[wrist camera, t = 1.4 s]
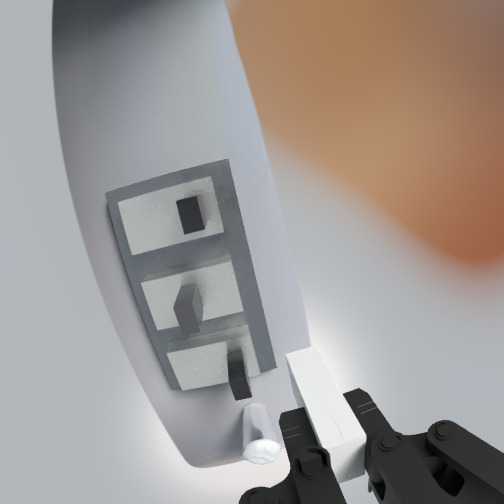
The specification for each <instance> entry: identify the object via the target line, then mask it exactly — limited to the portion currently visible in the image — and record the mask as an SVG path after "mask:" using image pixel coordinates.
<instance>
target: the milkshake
mask: <svg viewBox="0 0 504 504" xmlns="http://www.w3.org/2000/svg"><path fill="white" fill-rule="evenodd" d="M280 452H281V446H280V444H279V441H278V439H277V436H276V434H275V432H274V429H273V426H272V423H271V420H270V417H269V415H268V412H267V409H266V407H265V406H264V404H261V403H258V402H255V403H249V404H248V405H246V406H245V407H244V410H243V453H242V455H243V456H244V458H245V459H246V460H248V461H249V462H252V463H255V464H267V463H271V462H273V461H274V460H275V459H276V458H277V457H278V456H279V455H280ZM242 455H241V456H240V458H241V457H242Z"/></svg>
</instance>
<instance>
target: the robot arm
mask: <svg viewBox="0 0 504 504" xmlns="http://www.w3.org/2000/svg"><path fill="white" fill-rule="evenodd" d="M285 355H286V359H287V364H288V369H289V374H290V378H291V383H292V388H293V393H294V396H295V399H296V401H297V404H298V407H299V408H298V409H294V410H291V411H287V412H283V413H281V416H280V419H279V425H280V429H281V432H282V436H283V440H284V443H285V447H286V450H287V454H288V458H289V462H290V468H291V469H290V473H289V474H288V476H287V477H286V478H285V480H283V481H282V482H280V483H279V484H277V485H275V486H273V487H271V488H268V487H255V488H252V489H250V490H248V491H246V492H245V493H244V494H243V495H242V496H241V498H240V500H239V504H347V503H346V501H345V499H344V496H343V494H342V491H341V489H340V486H339V483H342V482H345V481H348V480H351V479H353V478H356V477H359V476H362V475H364V474H365V469H366V471H367V473H368V475H369V483H368V491H369V492H371V491H372V490H373V492H374V494H375V496H376V498H377V500H378V502H379V504H504V453H502V452H501V451H499V450H497V449H496V448H494V447H493V446H491V445H489V444H488V443H486V442H484V441H483V440H481V439H479V438H478V437H477V436H475V435H473V434H472V433H470V432H469V431H467V430H466V429H464V428H462V427H461V426H459V425H458V424H456V423H454V422H452V421H449V420H442V421H438V422H436V423H434V424H432V425H431V426H430V428H429V429H428V432H425V433H420V434H416V435H402V434H401V433H399V432H396V431H394V430H393V429H392V427H391V426H390V424H389V423H388V422H387V420H386V419H385V417H384V416H383V414H382V413H381V411H380V410H379V409H378V408H377V406H376V404H375V403H374V402H373V400H372V398H371V397H370V396H369V394H368V393H367V392H365V391H363V390H361V389H360V388H358V389H355V390H353V391H350V392H347V393H344V394H342V392H341V391H340V389H339V387H338V386H337V384H336V382H335V381H334V379H333V377H332V375H331V374H330V372H329V370H328V369H327V367H326V365H325V363H324V362H323V360H322V358H321V357H320V355H319V353H318V352H317V350H316V348H315V347H314V346H312V347H309V348H305V349H302V350H298V351H295V352H291V353H287V354H285Z"/></svg>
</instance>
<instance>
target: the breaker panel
mask: <svg viewBox="0 0 504 504" xmlns="http://www.w3.org/2000/svg"><path fill="white" fill-rule="evenodd" d="M105 195H106V199H107V203H108V207H109V211H110V215H111V219H112V223H113V226H114V230H115V234H116V237H117V241H118V244H119V248H120V251H121V254H122V258H123V261H124V264H125V267H126V271H127V274H128V277H129V280H130V283H131V286H132V289H133V292H134V295H135V298H136V300H137V303H138V306H139V309H140V312H141V314H142V317H143V320H144V322H145V325H146V328H147V330H148V333H149V335H150V338H151V340H152V343H153V345H154V348H155V350H156V353H157V355H158V358H159V360H160V362H161V365H162V367H163V369H164V372H165V374H166V376H167V378H168V381H169V383H170V385H171V387H172V389H179V388H181V389H182V391H183V390H189V389H195V388H200V387H206V386H211V385H216V384H221V383H226V382H229V383H230V386H231V389H232V392H233V395H234V397H235V400H236V401H237V400H242V399H246V398H251V397H252V392H251V387H250V381H249V377H253V376H257V375H261V374H260V372H262V371H266V370H270V369H274V368H277V366H276V362H275V358H274V354H273V349H272V345H271V341H270V337H269V332H268V328H267V324H266V319H265V315H264V311H263V307H262V302H261V298H260V294H259V290H258V285H257V281H256V277H255V272H254V268H253V264H252V260H251V255H250V251H249V247H248V242H247V238H246V234H245V230H244V225H243V221H242V217H241V212H240V208H239V204H238V199H237V195H236V191H235V186H234V182H233V178H232V174H231V169H230V165H229V161H228V159H224V160H220V161H216V162H212V163H208V164H204V165H200V166H196V167H192V168H188V169H184V170H180V171H177V172H173V173H169V174H166V175H162V176H159V177H155V178H152V179H148V180H145V181H142V182H138V183H135V184H132V185H129V186H125V187H122V188H119V189H116V190H113V191H110V192H107V193H105ZM195 284H196V286H197V289H198V292H199V296H200V299H201V302H202V306H203V309H204V310H203V319H202V328H201V332H198V333H193V334H189V335H184V336H183V335H182V332H181V329H180V327H179V324H178V321H177V318H176V315H175V312H174V309H173V306H174V304H175V301H176V298H177V295H178V292H179V289H180V288H183V287H187V286H191V285H195Z"/></svg>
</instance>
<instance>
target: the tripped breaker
mask: <svg viewBox="0 0 504 504" xmlns="http://www.w3.org/2000/svg"><path fill="white" fill-rule="evenodd" d="M173 309H174V312H175V315H176V318H177V321H178V324H179V327H180V329H181V332H182V335H183V336H184V335H189V334H193V333H198V332H201V328H202V319H203V310H204V309H203V306H202V302H201V299H200V296H199V292H198V289H197V286H196V284H195V285H191V286H187V287H183V288H180V289H179V292H178V295H177V298H176V301H175V304H174V306H173Z"/></svg>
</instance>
